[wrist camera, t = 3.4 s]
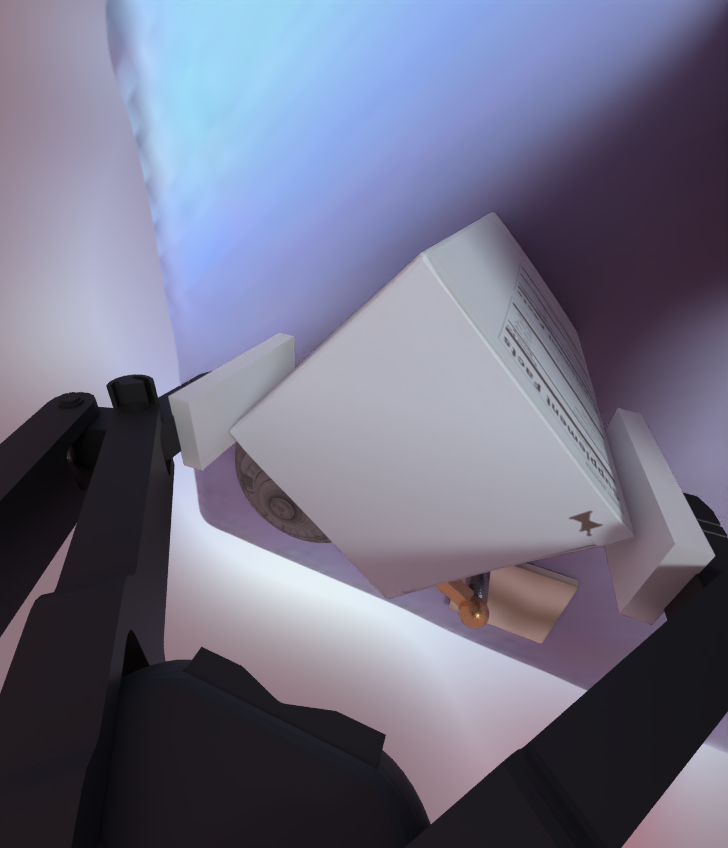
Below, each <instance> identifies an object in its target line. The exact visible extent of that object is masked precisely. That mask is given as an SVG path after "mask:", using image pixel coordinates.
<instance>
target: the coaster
mask: <svg viewBox="0 0 728 848" xmlns="http://www.w3.org/2000/svg"><path fill="white" fill-rule="evenodd" d="M461 580H462V581H463V582H464V583H465V582H466V578H463V579H461ZM577 589H578V581H577V580H576V579H573V578H570V577H567V576H564V575H561V574H558V573H555V572H552V571H549V570H546V569H543V568H540V567H537V566H534V565H531V564H528V563H522V564H518V565H514V566H510V567H506V568H501V569H497V570H493V571H491V572H490V582H489V591H488V601H487V606H488V608H489V619H488V621H487V623H488V624H491V625H493V626H496V627H498V628H501V629H504V630H506V631H509V632H511V633H514V634H517V635H519V636H522V637H524V638H527V639H530V640H532V641H535V642H537V643H540V644H542V642H543V641H544V639H545V638H546V636H547V635H548V633H549V632H550V630H551V629H552V627H553V626H554V624H555V622H556V621H557V619H558V618H559V616H560V615H561V613H562V612H563V610H564V609H565V607H566V606H567V604H568V603H569V601H570V600H571V598H572V597H573V595H574V594H575V592H576V591H577ZM448 608H449V609H452V610H454V611H457V612H458V606H457V605H456V604H455V603H454V602H453V601H452V600H451V599H450V602H449V607H448Z"/></svg>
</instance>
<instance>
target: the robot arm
mask: <svg viewBox="0 0 728 848" xmlns="http://www.w3.org/2000/svg"><path fill="white" fill-rule="evenodd" d="M294 369H295V348H294V336H291V335H286V334H282V333H278V334H276V335H275V336H273V337H271V338H269V339H268V340H266V341H264V342H262V343H261V344H259V345H257V346H255V347H254V348H252V349H250V350H248V351H247V352H245V353H243V354H241V355H240V356H238V357H236V358H234V359H233V360H231V361H229V362H228V363H226V364H224V365H222V366H221V367H219V368H217V369H215V370H214V371H210V372H207V373H203V374H200V375H198V376H196V377H194V378H193V379H191V380H189V382H188V381H187V382H185V383H184V384H182V385H181V386H178V387H176V388H175V389H173V390H171V391H170V392H168V393H166V394H164V395H162V396H161V397H159V398H158V396H157V392H156V388H155V384H154V380H153V378H151V377H149V376H146V375H127V376H123V377H119V378H116V379H114V380H112V381H110V382H109V383H108V384H107V390H108V393H109V396H110V399H111V402H112V405H113V408H105V407H98V405H97V402H96V399H95V397H94V395H92V394H90V393H83V392H79V393H78V392H77V393H75V392H72V393H69V394H68V393H66V394H63V395H61V396H58V397H56V398H54V399H52V400H51V401H49V402H48V403H47V404H45V405H44V406H43V407H42V408H41V409H40V410H39V411H38V412H36V413H35V414H34V415H33V416H32V417H31V418H29V419H28V420H27V421H26V422H25V423H24V424H23V425H21V426H20V427H19V428H18V429H17V430H16V431H15V432H13V434H11V435H10V436H9V437H8V438H7V439H6V440H4V441H3V442H2V443H1V444H0V637H1V635H2V634H3V632H4V631H5V629H6V628H7V626H8V625H9V623H10V622H11V620H12V619H13V617H14V616H15V614H16V613H17V611H18V610H19V608H20V607H21V605H22V604H23V603H24V601H25V599H26V598H27V597H28V595H29V594H30V592H31V591H32V589H33V588H34V586H35V584H36V583H37V582H38V580H39V578H40V577H41V575H42V574H43V572H44V571H45V570H46V568H47V566H48V565H49V564H50V562H51V561H52V559H53V558H54V556H55V554H56V553H57V551H58V550H59V549H60V547H61V546H62V544H63V543H64V541H65V540H66V538H67V537H68V535H69V534H70V532H71V531H72V529H73V528H74V526H75V525H76V528H75V531H74V534H73V537H72V540H71V543H70V546H69V549H68V553H67V556H66V559H65V562H64V565H63V568H62V571H61V575H60V578H59V581H58V584H57V587H56V589H55V591H54V592H53V593H49V594H44V595H41V596H40V597H39V598H38V599H36V600H35V602H34V604H33V606H32V608H31V610H30V613H29V616H28V618H27V621H26V624H25V627H24V629H23V632H22V635H21V638H20V640H19V643H18V646H17V649H16V651H15V654H14V657H13V660H12V662H11V665H10V668H9V671H8V674H7V676H6V679H5V682H4V685H3V687H2V690H1V693H0V848H621V847H622V846H623V845H624V844H625V842H626V841H627V840H628V838H629V837H630V836H631V835H632V833H633V832H634V831H635V829H636V828H637V827H638V826H639V824H640V823H641V822H642V820H643V819H644V818H645V817H646V815H647V814H648V813H649V812H650V810H651V809H652V808H653V806H654V805H655V804H656V803H657V801H658V800H659V799H660V798H661V796H662V795H663V794H664V792H665V791H666V790H667V789H668V787H669V786H670V785H671V783H672V782H673V781H674V780H675V778H676V777H677V776H678V774H679V773H680V772H681V771H682V769H683V768H684V767H685V766H686V764H687V763H688V762H689V760H690V759H691V758H692V757H693V755H694V754H695V753H696V751H697V750H698V749H699V748H700V746H701V745H702V744H703V743H704V741H705V740H706V739H707V737H708V736H709V735H710V734H711V732H712V731H713V730H714V728H715V727H716V726H717V725H718V723H719V722H720V721H721V720H722V718H723V717H724V716H725V714H726V713H727V712H728V538H727V534H726V533H725V531H724V529H723V528H722V527H720V525H721V524H720V523H719V521H718V519H717V517H716V516H715V514H714V512H713V511H712V510H711V509H710V508H709V507H708V506H707V505H706V504H705V503H704V502H703V501H702V500H701V499H700V498H698V497H697V496H694V495H690V494H686V493H682V491H681V489H680V487H679V485H678V483H677V481H676V479H675V477H674V475H673V473H672V471H671V470H670V468H669V466H668V464H667V462H666V460H665V458H664V456H663V454H662V452H661V450H660V448H659V447H658V445H657V443H656V441H655V439H654V437H653V435H652V433H651V431H650V429H649V427H648V425H647V423H646V422H645V420H644V418H643V416H642V414H641V413H639V412H634V411H630V410H625V409H621V408H617V410H616V412H615V414H614V416H613V417H612V419H611V421H610V423H609V425H608V427H607V429H606V431H605V432H606V435H607V438H608V442H609V446H610V450H611V454H612V457H613V461H614V464H615V467H616V471H617V474H618V478H619V481H620V485H621V488H622V492H623V496H624V499H625V502H626V505H627V508H628V512H629V515H630V519H631V523H632V526H633V530H634V539H632V540H629V541H625V542H620V543H615V544H610V545H605V546H604V547H605V551H606V556H607V560H608V565H609V569H610V574H611V578H612V583H613V587H614V592H615V596H616V601H617V605H618V610H619V614H622V615H625V616H628V617H631V618H634V619H636V620H639V621H642V622H645V623H648V624H651V625H652V624H653V623H654V622H655V621H656V620H657V619H658V618H659V617H660V616H661V615H662V614H663V612H664V611H665V614H666V617H667V620H668V621H666V622H665V623H664V624H663V625H662V626H661V627H660V628H658V629H657V630H656V631H655V632H654V633H653V634H652V635H650V636H649V637H648V638H647V639H646V640H645V641H644V642H643V643H641V644H640V645H639V646H638V647H637V648H636V649H635V650H633V651H632V652H631V653H630V654H629V655H628V656H627V657H626V658H624V659H623V660H622V661H621V662H620V663H619V664H618V665H616V666H615V667H614V668H613V669H612V670H611V671H610V672H608V673H607V674H606V675H605V676H604V677H603V678H602V679H601V680H599V681H598V682H597V683H596V684H595V685H594V686H593V687H591V688H590V689H589V690H588V691H587V692H586V693H585V694H584V695H583V696H581V697H580V698H579V699H578V700H577V701H576V702H574V703H573V704H572V705H571V706H570V707H569V708H568V709H566V710H565V711H564V712H563V713H562V714H561V715H560V716H559V717H557V718H556V719H555V720H554V721H553V722H552V723H551V724H549V726H547V727H546V728H545V729H544V730H543V731H541V732H540V733H539V734H538V735H537V736H536V737H535V738H534V739H532V740H531V741H530V742H529V743H528V744H527V745H526V746H524V747H523V748H522V749H518V750H517V751H516V752H514V753H513V754H511V755H510V756H509V757H508V758H507V759H506V760H505V761H503V762H502V763H501V764H500V765H499V766H498V767H496V768H495V769H494V770H493V771H492V772H491V773H489V774H488V775H487V776H486V777H485V778H484V779H483V780H482V781H480V782H479V783H478V784H477V785H476V786H475V787H473V788H472V789H471V790H470V791H469V792H468V793H467V794H465V795H464V796H463V797H462V798H461V799H460V800H459V801H457V802H456V803H455V804H454V805H453V806H452V807H451V808H450V809H448V810H447V811H446V812H445V813H444V814H443V815H441V816H440V817H439V818H438V819H437V820H436V821H435V822H434V823H432V824H430V821H429V819H428V816H427V814H426V811H425V809H424V807H423V804H422V802H421V800H420V799H419V796H418V795H417V793H416V791H415V789H414V787H413V785H412V784H411V783H410V781H409V780H408V778H407V777H406V775H405V774H404V772H403V771H402V770H401V769H400V767H399V766H398V765H397V764H396V763H395V761H394V760H393V759H392V758H391V757H390V756H389V755H387V754H386V753H385V752H384V751H383V750H382V748H383V744H384V740H385V736H386V735H385V734H383V733H381V732H379V731H377V730H374V729H372V728H370V727H368V726H366V725H364V724H362V723H360V722H358V721H356V720H354V719H351V718H349V717H347V716H345V715H343V714H341V713H339V712H337V711H332V710H324V709H317V708H310V707H303V706H296V705H289V704H283V703H281V702H279V701H278V700H276V699H275V698H274V697H273V696H272V695H271V694H270V693H269V692H268V691H267V690H266V689H265V688H264V687H263V686H262V685H261V684H260V683H259V682H258V681H257V680H256V679H255V678H254V677H253V676H252V675H251V674H250V673H249V672H248V671H246V670H245V668H243V667H242V666H241V665H238V664H236V663H234V662H232V661H230V660H228V659H226V658H224V657H222V656H220V655H218V654H215V653H213V652H211V651H209V650H207V649H205V648H203V647H201V648H200V650H199V651H198V653H197V654H196V656H195V657H194V658H193V659H192V660H173V661H165V655H164V625H165V609H166V592H167V578H168V562H169V561H168V560H169V546H170V529H171V512H172V496H173V481H174V461H173V457H174V456H175V455H176V454H178V453H179V452H180V451H181V454H182V459H183V463H184V465H186V466H189V467H192V468H195V469H197V470H200V471H203V470H204V469H205V468H206V467H207V466H208V465H210V464H211V463H212V462H213V461H214V460H215V459H216V458H218V457H219V456H220V455H221V454H222V453H223V452H225V451H226V450H227V449H228V448H229V447H230V446H232V445H233V444H234V443H235V442H236V440H235V439H234V437H233V436H232V435H231V434H230V428H231V427H232V426H233V425H235V424H236V423H237V422H238V421H239V420H240V419H241V418H242V417H244V416H245V415H246V414H247V413H248V412H249V411H250V410H251V409H252V408H253V407H254V406H255V405H256V404H257V403H259V402H260V401H261V400H262V399H263V398H264V397H265V396H266V395H267V394H268V393H269V392H270V391H271V390H272V389H273V388H274V387H276V386H277V385H278V384H279V383H280V382H281V381H282V380H283V379H284V378H285V377H286V376H287V375H288V374H289V373H290V372H291V371H292V370H294ZM67 457H68V459H67ZM76 523H77V524H76Z"/></svg>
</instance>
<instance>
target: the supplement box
mask: <svg viewBox="0 0 728 848" xmlns="http://www.w3.org/2000/svg"><path fill="white" fill-rule="evenodd" d="M230 434H231V435H232V436H233V437H234V439H235V440H236V441H237V442H238V443H239V444H240V445H241V447H242V448H243V449H244V450H245V451H246V452H247V453H248V455H249V456H250V457H251V458H252V459H253V460H254V461H255V462H256V463H257V464H258V465H259V466H260V468H261V469H262V470H263V471H264V472H265V473H266V474H267V475H268V476H269V477H270V478H271V479H272V480H273V481H274V482H275V483H276V484H277V485H278V486H279V487H280V488H281V489H282V490H283V491H284V492H285V493H286V494H287V495H288V496H289V497H290V498H291V499H292V500H293V501H294V502H295V503H296V505H297V506H298V507H299V508H300V509H301V510H302V511H303V512H304V513H305V514H306V515H307V516H308V517H309V518H310V519H311V520H312V521H313V522H314V523H315V524H316V525H317V527H318V528H319V529H320V530H321V531H322V532H323V533H324V534H325V535H326V536H327V537H328V538H329V539H330V540H331V542H332V543H333V544H334V545H335V546H336V547H337V548H338V549H339V550H340V551H341V552H342V553H343V554H344V555H345V557H346V558H347V559H348V560H349V561H350V562H351V563H352V564H353V565H354V566H355V567H356V568H357V569H358V570H359V571H360V572H361V573H362V574H363V575H364V576H365V577H366V578H367V579H368V580H369V581H370V582H371V583H372V584H373V585H374V586H375V587H376V588H377V589H378V590H379V591H380V592H381V594H382V595H383V596H384V597H385V598H388V599H391V598H394V597H398V596H402V595H404V594H407V593H411V592H415V591H418V590H422V589H425V588H429V587H433V586H437V585H440V584H443V583H447V582H451V581H455V580H459V579H463V578H466V577H470V576H474V575H478V574H482V573H486V572H489V571H493V570H497V569H501V568H506V567H510V566H514V565H518V564H522V563H527V562H531V561H535V560H540V559H544V558H549V557H553V556H558V555H562V554H566V553H571V552H575V551H580V550H584V549H589V548H594V547H599V546H605V545H610V544H615V543H620V542H625V541H629V540H632V539H634V530H633V526H632V523H631V519H630V515H629V512H628V508H627V505H626V502H625V499H624V496H623V492H622V488H621V485H620V481H619V478H618V474H617V471H616V467H615V464H614V461H613V457H612V454H611V450H610V446H609V442H608V438H607V435H606V432H605V428H604V424H603V421H602V417H601V414H600V411H599V408H598V404H597V400H596V396H595V392H594V389H593V386H592V382H591V379H590V376H589V372H588V369H587V365H586V362H585V358H584V354H583V351H582V347H581V344H580V340H579V336H578V333H577V331H576V329H575V328H574V326H573V325H572V323H571V321H570V320H569V318H568V317H567V315H566V313H565V312H564V310H563V309H562V307H561V306H560V304H559V303H558V301H557V300H556V298H555V297H554V295H553V294H552V292H551V291H550V289H549V288H548V286H547V285H546V283H545V282H544V280H543V279H542V277H541V276H540V274H539V273H538V271H537V270H536V268H535V267H534V265H533V264H532V262H531V261H530V260H529V258H528V257H527V255H526V254H525V253H524V251H523V250H522V248H521V247H520V245H519V244H518V243H517V241H516V240H515V238H514V237H513V236H512V234H511V233H510V231H509V230H508V229H507V227H506V226H505V225H504V223H503V222H502V221H501V219H500V218H499V217H498V216H497V215H496V213H495V212H491V213H489V214H487V215H485V216H484V217H482V218H480V219H479V220H477V221H475V222H474V223H472V224H470V225H468V226H467V227H465V228H463V229H462V230H460V231H458V232H456V233H455V234H453V235H451V236H449V237H448V238H446V239H444V240H442V241H440V242H439V243H437V244H435V245H433V246H432V247H430V248H428V249H426V250H425V251H423V252H421V253H420V254H419V255H418V256H417V257H416V258H415V259H413V260H412V261H411V262H410V263H409V264H408V265H407V266H406V267H405V268H404V269H402V270H401V271H400V272H399V273H398V274H397V275H396V276H395V277H394V278H393V279H391V280H390V281H389V282H388V283H387V284H386V285H385V286H384V287H383V288H381V289H380V290H379V291H378V292H377V293H376V294H375V295H374V296H373V297H371V298H370V299H369V300H368V301H367V302H366V303H365V304H364V305H362V306H361V307H360V308H359V309H358V310H357V311H356V312H355V313H354V314H352V315H351V316H350V317H349V318H348V319H347V320H346V321H345V322H344V323H343V324H342V325H340V326H339V327H338V328H337V329H336V330H335V331H334V332H333V333H332V334H331V335H330V336H329V337H328V338H326V339H325V340H324V341H323V342H322V343H321V344H320V345H319V346H318V347H317V348H316V349H315V350H314V351H313V352H311V353H310V354H309V355H308V356H307V357H306V358H305V359H304V360H303V361H302V362H301V363H300V364H299V365H298V366H297V367H296V368H295V369H294V370H292V371H291V372H290V373H289V374H288V375H287V376H286V377H285V378H284V379H283V380H282V381H281V382H280V383H279V384H278V385H277V386H276V387H274V388H273V389H272V390H271V391H270V392H269V393H268V394H267V395H266V396H265V397H264V398H263V399H262V400H261V401H260V402H259V403H257V404H256V405H255V406H254V407H253V408H252V409H251V410H250V411H249V412H248V413H247V414H246V415H245V416H244V417H242V418H241V419H240V420H239V421H238V422H237V423H236V424H235V425H233V426H232V427H231V428H230Z"/></svg>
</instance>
